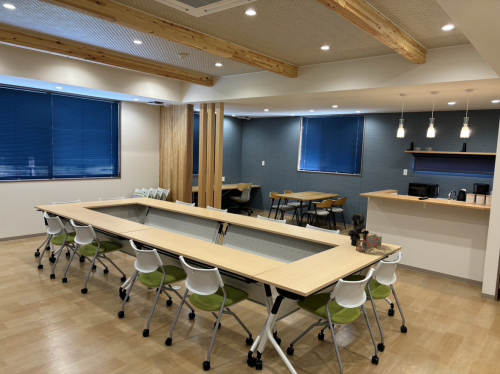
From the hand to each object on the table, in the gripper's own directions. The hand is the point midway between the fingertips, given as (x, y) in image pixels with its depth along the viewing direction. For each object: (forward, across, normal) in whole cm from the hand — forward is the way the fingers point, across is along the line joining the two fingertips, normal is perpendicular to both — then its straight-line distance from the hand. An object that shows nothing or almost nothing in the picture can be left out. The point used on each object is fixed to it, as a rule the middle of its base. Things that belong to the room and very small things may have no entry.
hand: (360, 240), depth 323 cm
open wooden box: (+8, 0, +7) cm, 11 cm away
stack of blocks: (-7, +24, +23) cm, 34 cm away
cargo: (+7, 0, +6) cm, 10 cm away
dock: (+3, +10, +12) cm, 16 cm away
